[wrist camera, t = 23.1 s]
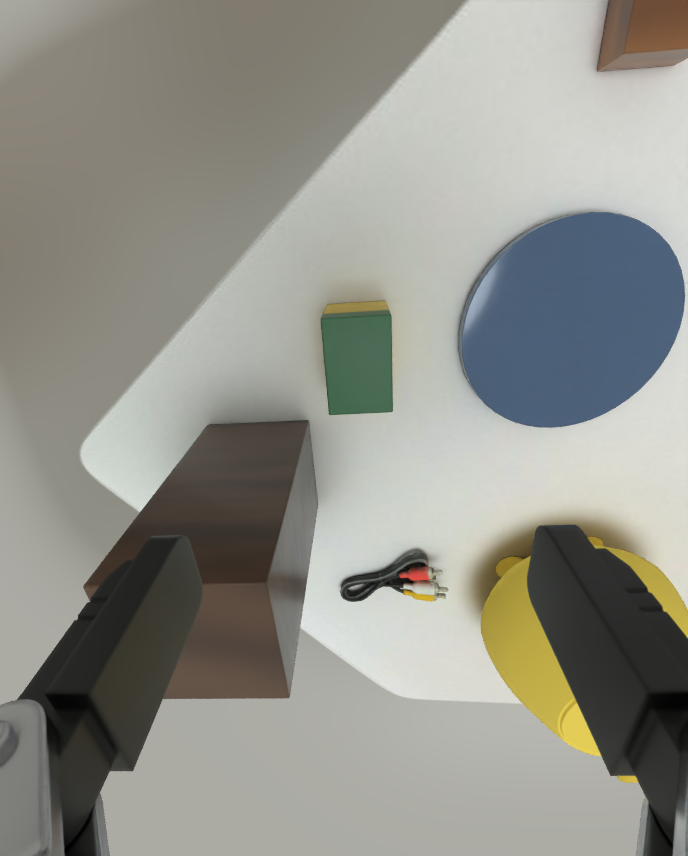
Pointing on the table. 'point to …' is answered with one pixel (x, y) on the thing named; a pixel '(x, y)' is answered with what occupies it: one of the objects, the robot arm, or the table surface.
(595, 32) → the table surface
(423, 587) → the composite cable
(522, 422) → the plate
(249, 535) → the tall dark wooden block
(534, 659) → the teapot
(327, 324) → the sponge
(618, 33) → the brown square block
